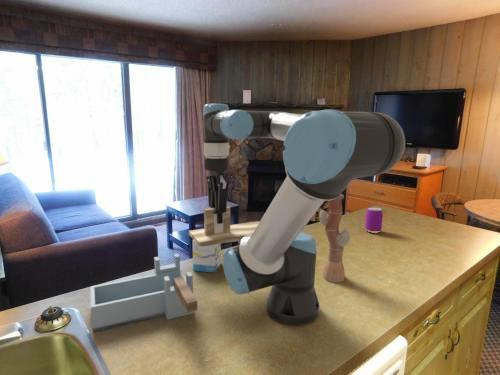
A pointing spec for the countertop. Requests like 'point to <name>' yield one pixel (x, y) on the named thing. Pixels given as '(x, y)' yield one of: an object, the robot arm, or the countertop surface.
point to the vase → (334, 240)
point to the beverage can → (374, 219)
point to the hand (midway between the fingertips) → (217, 231)
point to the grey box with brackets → (139, 298)
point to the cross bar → (185, 294)
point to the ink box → (206, 257)
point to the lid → (229, 231)
